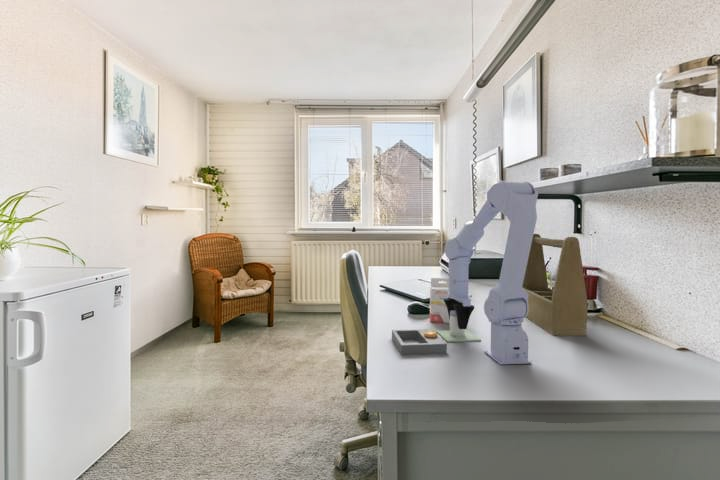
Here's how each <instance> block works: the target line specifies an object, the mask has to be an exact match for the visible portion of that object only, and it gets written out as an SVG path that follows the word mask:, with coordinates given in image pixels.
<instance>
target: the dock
mask: <svg viewBox="0 0 720 480" xmlns="http://www.w3.org/2000/svg"><path fill="white" fill-rule="evenodd" d="M425 332H435V330H433V329H432V328H425V329H423V328H422V329H421V328H420V329H417V328H416V329H392V330H391V340H392V341H393V343H394V344H395V346H396V348H397V350H398V352H399V354H400V355H402V356H403V355H405V356H407V355H408V356H409V355H430V354H431V355H434V354H435V355H436V354H437V355H438V354H447V352H448V350H447V346H448V345H447V342H446V341H445V340H444V339H443V338H442V337H441V336H440V335H439V334H437V338H426V337H425V336H424V333H425ZM403 340H418V342H420V343H404V341H403Z"/></svg>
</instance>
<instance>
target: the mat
mask: <svg viewBox="0 0 720 480" xmlns="http://www.w3.org/2000/svg"><path fill="white" fill-rule="evenodd" d="M436 333H437V335H438V336H439V337H440V338H441V339H442V340H443V341H444V342H445V343H460V342H461V343H462V342H463V343H465V342H466V343H467V342H482V339H481V338H480V337H478V336H477V335H475V334H474V333H473V332H471V331H470V330H469V329H465V336H464V337H453V336H451V335H450V329H448V330H445V329H444V330H436Z"/></svg>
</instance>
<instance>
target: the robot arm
mask: <svg viewBox="0 0 720 480" xmlns="http://www.w3.org/2000/svg"><path fill="white" fill-rule="evenodd" d="M538 196H539V193H538V191H537V189H536V188H535V187H534V185H533V184H532V183H530V182H528V181H521V182H519V181H518V182H517V181H505V180H496V181H494V182H493V184H491V187H490V188H489V189H488V190H487V191H486V201H484V204H483V205H482V206H481V208H480V209H479V211H478V213H477V214H476V216H475V217H474V219H473V221H472V220H471V221H468V222H465V223H464V224H463V227H462V228H461V230H460V231H459V232H458V234H456V236H455V237H453V238H451V239H448V240H447V241H446V243H445V244H444V253H445V256H446V258H447V259H448V278H449V291H447V297H449V298H448V299H444V302H445V304H446V307H447V310H448V314H449V319H450V311H451V310H455V311H456V314H457V321H458V327H459V329H465V330H467V328H468V325H469V320H470V317H471V315H472V313H473V311H474V309H475V306H474V305H473V304H471V302H472V301H471V300H472V299H471V298H472V297H473V295H472V294H471V293H469V268H470V267H469V265H470V264H471V259H472V257H473V255H474V247H475V246H477V244H478V243H479V241H481V239H482V238H483V236H484V235H485V228H486V227H487V226H488V225H489V224H490V223H491V222H492V220H493V219H495V218H496V216H497V215H498V214H499V213H502V215H504V216H505V217H506V218H507V219H508V221H509V222H510V223H509V228H508V233H507V240H506V244H505V247H504V248H505V249H504V253H503V259H502V263H501V264H502V265H501V269H500V273H499V279H498V283H497V284H495V285H494V286H493V287H492V288H491V289H490V290H489V293H488V296H487V298H486V299H485V301H484V305H483V312H484V314H485V316H486V318H487V319H488V322H490V349H485V350H484V353H485V354H487V355H488V356H489V357H491V359H493V360H494V361H495V362H497V363H498V364H499V365H520V364H521V365H522V364H523V365H524V364H532V361H531V359H529V336H528V333H526V330H524V328H523V326H522V323H524V319H526V316H527V315H528V312H529V305H528V297H529V294H528V293H527V292H526V291H525V290H524V289H523V288H522V285H523V281H524V276H525V271H526V267H527V262H528V257H529V253H530V248H531V243H532V239H533V234H535V228H536V224H537V219H538V214H537V213H538V212H537V202H538V201H537V200H538Z"/></svg>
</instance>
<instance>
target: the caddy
mask: <svg viewBox="0 0 720 480" xmlns="http://www.w3.org/2000/svg"><path fill="white" fill-rule="evenodd" d="M543 246H546V247H552V248H558V249H561V251H560V255H559V261H558V265H557V269H556V275H555V281H554V285H553V288H551V287H549V283H548V275H547V268H546V261H545V255H544V247H543ZM583 267H584V266H583V260H582V254H581V247H580V241H579V239H578V237H575V236H567V237H565V238H564V239H559V238H557V239H553V238H547V237H541V235H540V234H539V233H534V234H533V239H532V243H531V248H530V253H529V257H528V262H527V267H526V271H525V276H524V281H523V285H522V288H523V289H524V290H525V291H526V292H527V293H528V294H529V297H528V305H529V312H528V315H527V316H526V317H525V319H527V320H529V321H530V322H532V323H533V324H535V325H536V326H538V327H540V328H541V329H542V330H544V331H545V332H547V333H548V334H550V335H551V336H570V337H571V336H572V337H573V336H575V337H577V336H578V337H579V336H583V337H584V336H587V333H588V332H587V329H588V327H587V326H588V325H587V324H588V310H589V305H588V296H587V289H586V281H585V274H584V268H583Z"/></svg>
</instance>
